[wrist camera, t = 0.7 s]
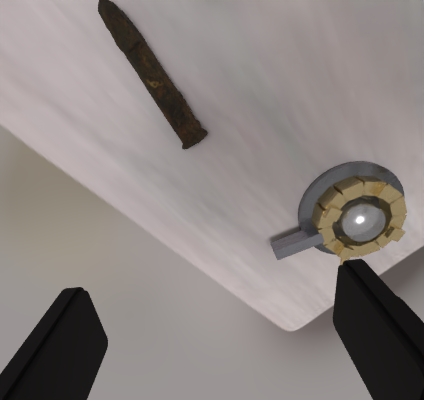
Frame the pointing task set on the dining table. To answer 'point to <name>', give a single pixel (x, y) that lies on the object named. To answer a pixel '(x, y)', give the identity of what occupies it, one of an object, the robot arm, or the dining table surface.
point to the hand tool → (152, 74)
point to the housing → (349, 203)
